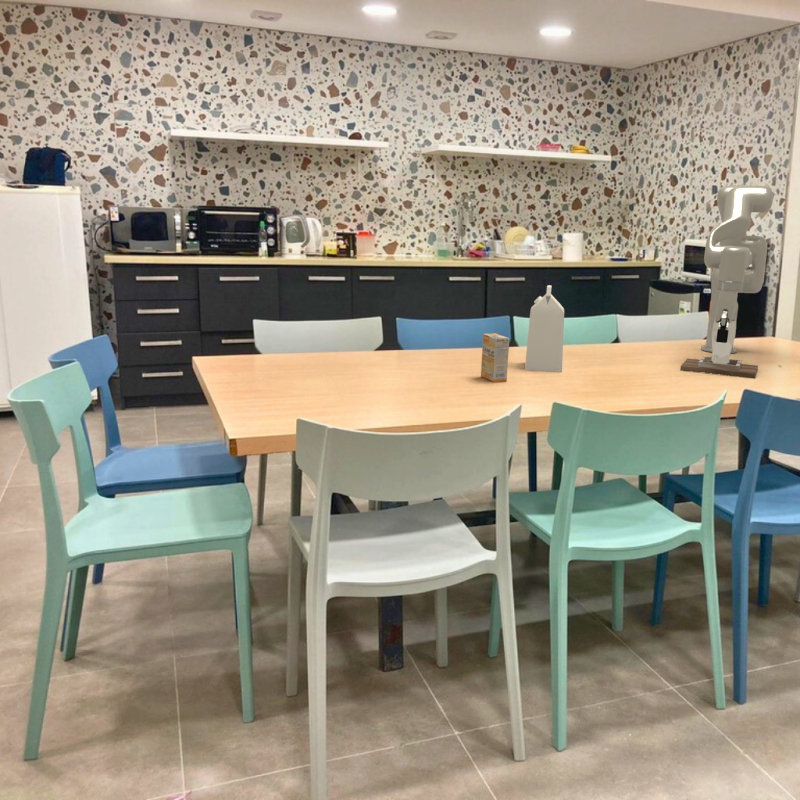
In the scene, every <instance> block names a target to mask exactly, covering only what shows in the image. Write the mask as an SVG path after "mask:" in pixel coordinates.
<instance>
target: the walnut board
mask: <svg viewBox="0 0 800 800" xmlns="http://www.w3.org/2000/svg"><path fill="white" fill-rule="evenodd" d="M711 358H712V356H711V357H709V356H702V357H701V358H700V359H698V358H697V359H695V358H686V359H685V360H684V361H683V362H682V364H681V365H680V368H679V369H680V371H681V370H683V371H682V372H690V371H693V372H692V373H700V372H705V373H704V374H709V373H712V374H711V375H718V374H720V375H721V376H728V375H729V377H737V376H738V377H739V378H748V379H755V378H756V376H757V372H758V370H759V365H756V364H746V363H745V364H743V363H742V362H743V361H742V360H741V359H731V358H730V365H728V364H718V363H710V361H711ZM738 377H737V378H738Z"/></svg>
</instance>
